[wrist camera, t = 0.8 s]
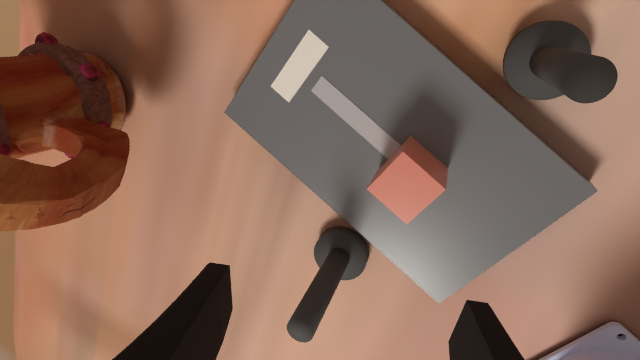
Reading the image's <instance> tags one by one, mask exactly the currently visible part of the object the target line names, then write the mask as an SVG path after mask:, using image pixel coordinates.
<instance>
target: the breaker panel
mask: <svg viewBox="0 0 640 360" xmlns="http://www.w3.org/2000/svg"><path fill="white" fill-rule="evenodd" d="M224 113H226V114H227V115H228V116H229V117H230V118H231V119H232V120H233V121H235V122H236V123H237V124H238V125H239V126H240V127H241V128H242V129H243V130H245V131H246V132H247V133H248V134H249V135H250V136H251V137H252V138H254V139H255V140H256V141H257V142H258V143H259V144H260V145H261V146H263V147H264V148H265V149H266V150H267V151H268V152H269V153H270V154H272V155H273V156H274V157H275V158H276V159H277V160H278V161H279V162H281V163H282V164H283V165H284V166H285V167H286V168H287V169H288V170H290V171H291V172H292V173H293V174H294V175H295V176H296V177H297V178H299V179H300V180H301V181H302V182H303V183H304V184H305V185H306V186H308V187H309V188H310V189H311V190H312V191H313V192H314V193H315V194H316V195H318V196H319V197H320V198H321V199H322V200H323V201H324V202H325V203H327V204H328V205H329V206H330V207H331V208H332V209H333V210H334V211H336V212H337V213H338V214H339V215H340V216H341V217H342V218H343V219H345V220H346V221H347V222H348V223H349V224H350V225H351V226H352V227H354V228H355V229H356V230H357V231H358V232H359V233H360V234H361V235H363V236H364V237H365V238H366V239H367V240H368V241H369V242H370V243H372V244H373V245H374V246H375V247H376V248H377V249H378V250H379V251H380V252H382V253H383V254H384V255H385V256H386V257H387V258H388V259H389V260H391V261H392V262H393V263H394V264H395V265H396V266H397V267H398V268H400V269H401V270H402V271H403V272H404V273H405V274H406V275H407V276H409V277H410V278H411V279H412V280H413V281H414V282H415V283H416V284H418V285H419V286H420V287H421V288H422V289H423V290H424V291H425V292H427V293H428V294H429V295H430V296H431V297H432V298H433V299H434V300H436V301H437V302H438V303H441V302H442V301H444V300H445V299H446V298H448V297H449V296H451V295H452V294H453V293H455V292H456V291H458V290H459V289H461V288H462V287H463V286H465V285H466V284H468V283H469V282H470V281H472V280H473V279H475V278H476V277H477V276H479V275H480V274H482V273H483V272H484V271H486V270H487V269H489V268H490V267H491V266H493V265H494V264H496V263H497V262H499V261H500V260H501V259H503V258H504V257H506V256H507V255H508V254H510V253H511V252H513V251H514V250H515V249H517V248H518V247H520V246H521V245H522V244H524V243H525V242H527V241H528V240H529V239H531V238H532V237H534V236H535V235H537V234H538V233H539V232H541V231H542V230H544V229H545V228H546V227H548V226H549V225H551V224H552V223H553V222H555V221H556V220H558V219H559V218H560V217H562V216H563V215H565V214H566V213H567V212H569V211H570V210H572V209H573V208H575V207H576V206H577V205H579V204H580V203H582V202H583V201H584V200H586V199H587V198H589V197H590V196H591V195H593V194H594V193H596V192H597V189H596V188H595V187H594V186H593V185H592V183H591V182H590V181H589V180H588V179H587V178H585V177H584V176H583V175H582V174H581V173H580V172H579V171H577V170H576V169H575V168H574V167H573V166H572V165H571V164H569V163H568V162H567V161H566V160H565V159H564V158H563V157H562V156H560V155H559V154H558V153H557V152H556V151H555V150H554V149H552V148H551V147H550V146H549V145H548V144H547V143H546V142H544V141H543V140H542V139H541V138H540V137H539V136H538V135H536V134H535V133H534V132H533V131H532V130H531V129H530V128H529V127H527V126H526V125H525V124H524V123H523V122H522V121H521V120H519V119H518V118H517V117H516V116H515V115H514V114H513V113H511V112H510V111H509V110H508V109H507V108H506V107H505V106H503V105H502V104H501V103H500V102H499V101H498V100H497V99H496V98H494V97H493V96H492V95H491V94H490V93H489V92H488V91H486V90H485V89H484V88H483V87H482V86H481V85H480V84H478V83H477V82H476V81H475V80H474V79H473V78H472V77H470V76H469V75H468V74H467V73H466V72H465V71H464V70H463V69H461V68H460V67H459V66H458V65H457V64H456V63H455V62H453V61H452V60H451V59H450V58H449V57H448V56H447V55H445V54H444V53H443V52H442V51H441V50H440V49H439V48H437V47H436V46H435V45H434V44H433V43H432V42H431V41H430V40H428V39H427V38H426V37H425V36H424V35H423V34H422V33H420V32H419V31H418V30H417V29H416V28H415V27H414V26H412V25H411V24H410V23H409V22H408V21H407V20H406V19H404V18H403V17H402V16H401V15H400V14H399V13H398V12H397V11H395V10H394V9H393V8H392V7H391V6H390V5H389V4H387V3H386V2H385V1H384V0H294V2H293V3H292V5H291V7H290V8H289V10H288V11H287V13H286V15H285V16H284V18H283V19H282V21H281V23H280V24H279V26H278V27H277V29H276V31H275V32H274V34H273V35H272V37H271V39H270V40H269V42H268V43H267V45H266V47H265V48H264V50H263V51H262V53H261V55H260V56H259V58H258V59H257V61H256V63H255V64H254V66H253V67H252V69H251V70H250V72H249V74H248V75H247V77H246V78H245V80H244V82H243V83H242V85H241V86H240V88H239V90H238V91H237V93H236V94H235V96H234V98H233V99H232V101H231V102H230V104H229V106H228V107H227V109H226V110H225V112H224ZM410 136H412V137H413V138H414V139H416V140H417V141H418V142H419V143H420V144H421V145H422V146H423V147H425V148H426V149H427V150H428V151H429V152H430V153H431V154H432V155H434V156H435V157H436V158H437V159H438V160H439V161H440V162H442V163H443V164H444V165H445V166H446V167H447V168H448V175H447V185H446V190H445V191H444V192H443V193H442V194H441V195H439V196H438V197H437V198H436V199H435V200H434V201H433V202H432V203H430V204H429V205H428V206H427V207H426V208H425V209H424V210H423V211H421V212H420V213H419V214H418V215H417V216H416V217H415V218H414V219H412V220H411V221H410V222H409V223H408V224H405V223H404V222H403V221H402V220H401V219H400V218H399V217H398V216H396V215H395V214H394V213H393V212H392V211H391V210H390V209H389V208H387V207H386V206H385V205H384V204H383V203H382V202H381V201H380V200H378V199H377V198H376V197H375V196H374V195H373V194H372V193H371V192H369V191H368V190H367V187H368V186H369V184H370V182H371V181H372V179H373V177H374V176H375V174H376V172H377V171H378V169H379V168H380V167H381V166H382V165H383V164H384V163H385V162H386V161H387V160H388V159H389V158H390V156H391V155H392V154H393V153H394V152H395V151H396V150H397V149H398V148H399V147H400V146H401V145H402V144H403V143H404V142H405V141H406V140H407V139H408V138H409V137H410Z"/></svg>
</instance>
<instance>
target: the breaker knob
mask: <svg viewBox="0 0 640 360" xmlns="http://www.w3.org/2000/svg"><path fill="white" fill-rule="evenodd" d="M447 175H448V168H447V167H446V166H445V165H444V164H443V163H442V162H440V161H439V160H438V159H437V158H436V157H435V156H434V155H432V154H431V153H430V152H429V151H428V150H427V149H426V148H425V147H423V146H422V145H421V144H420V143H419V142H418V141H417V140H416V139H414V138H413V137H412V136H410V137H409V138H408V139H407V140H406V141H405V142H404V143H403V144H402V145H401V146H400V147H399V148H398V149H397V150H396V151H395V152H394V153H393V154H392V155H391V156H390V158H389V159H388V160H387V161H386V162H385V163H384V164H383V165H382V166H381V167H380V168H379V169H378V171H377V172H376V174H375V176H374V177H373V179H372V181H371V182H370V184H369V186H368V187H367V190H368V191H369V192H371V193H372V194H373V195H374V196H375V197H376V198H377V199H378V200H380V201H381V202H382V203H383V204H384V205H385V206H386V207H387V208H389V209H390V210H391V211H392V212H393V213H394V214H395V215H396V216H398V217H399V218H400V219H401V220H402V221H403V222H404V223H405V224H408V223H409V222H410V221H411V220H412V219H414V218H415V217H416V216H417V215H418V214H419V213H420V212H421V211H423V210H424V209H425V208H426V207H427V206H428V205H429V204H430V203H432V202H433V201H434V200H435V199H436V198H437V197H438V196H439V195H441V194H442V193H443V192H444V191H445V190H446V185H447Z"/></svg>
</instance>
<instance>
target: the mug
mask: <svg viewBox="0 0 640 360" xmlns="http://www.w3.org/2000/svg"><path fill="white" fill-rule="evenodd" d="M125 116H126V104H125V95H124V91H123V87H122V85H121V83H120V80H119V78H118V76H117V75H116V74H115V73H114V72H113V70H112V69H111V68H110V67H109V65H108V64H107V63H106V62H104V61H103V60H101V59H100V58H99V57H97V56H95V55H92V54H90V53H83V52H82V53H81V52H79V51H77V50H75V49H73V48H71V47H68V46H64V45H62V44H59V43H58V41H57V39H56V38H54V37H53V36H52V35H51V34H49V33H45V32H43V33H41V34H39V35H37V37H36V40H35V44H33V45H30V46H28V47H26V48H25V49H24V50H23V51H22V52H20V54H19V55H18V56H14V57H0V231H15V230H28V229H35V228H41V227H46V226H51V225H55V224H59V223H64V222H67V221H70V220H72V219H75V218H79V217H81V216H82V215H83V214H85V213H87V212H89V211H91V210H93V209H95V208H96V207H98V206H99V205H100V204H102V203H103V202H104V201H106V200H107V199H108V198H109V197H110V196H111V195H112V194H113V193H114V192H115V191H116V189H117V188H118V187H119V186H120V183H121V180H122V178H123V175H124V172H125V168H126V164H127V159H128V155H129V137H128V135H127V133H125V132H123V131H121V129H122V127H123V124H124V122H125ZM51 149H56V150H58V151H61V152H64V153H65V155H66V156H68V157H69V158H72V159H70V160H68V161H66V162H64V163H62V164H60V165H58V166H55V167H50V166H44V165H39V164H34V163H30V162H28V161H24V160H19V159H17V158H20V157H24V156H27V155H31V154H35V153H39V152H43V151H47V150H51Z"/></svg>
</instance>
